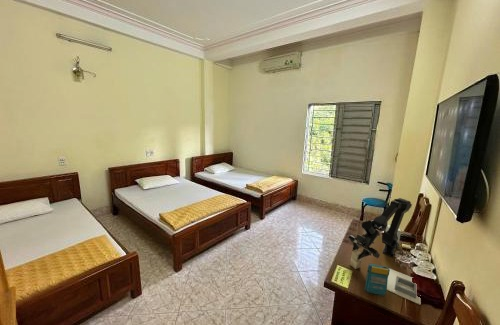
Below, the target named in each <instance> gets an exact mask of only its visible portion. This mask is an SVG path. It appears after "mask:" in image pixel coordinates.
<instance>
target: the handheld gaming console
mask: <svg viewBox="0 0 500 325" xmlns="http://www.w3.org/2000/svg"><path fill="white" fill-rule="evenodd" d="M390 269H391V268H389V267H387V266H384V265H379V264H375V263H374V264H372V263H369V264H368V266H367V270H366V271H367V273H366V277H365V278H366V279H365V284H364V290H365V291H366V292H367V293H369V294H374V295H379V296H383V297H384V296H385V295H386V293H387V291H388V290H387V281H388V275H389V271H390Z"/></svg>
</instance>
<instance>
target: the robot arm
mask: <svg viewBox="0 0 500 325" xmlns="http://www.w3.org/2000/svg"><path fill="white" fill-rule="evenodd" d="M411 208H412V203H411V201H410V200H407V199H405V198H401V197H399V198H393V200H391V201H390V204H388V206H387V207H386V209H384V211H383V212H382V213H381V214H380V215H378V216H375V217H374V219H372V220H371V219H369V220H366V221H363V222H362V223H361V227H362V229H363V230H364V232H365V233H364V234H363V233H362V235H361V234H358V233H357V234H356V236H354V235H352V234H350V235H348V236H347V238H348V240H349V241H350V242H352V244H353V247H352V250H351V252H352V251H353V250H356V249H357V250H359V249H360V247H362V248H363V249H362V253H361V254H360V255H359V257H358V259H361V260H362V259H363V258H366V257H368V256H373V257H374V258H376V259H379V258H380V253H379V251H378V250H376V249H375V248H373V246H372V247H371V245H372V244H374V243H375V242H374V241H375V240H376V239H377V237H380V236H381V235H380V232H383V235H382V236H381V243H383V244H384V248H383V251H382V254H384V255H387V256H389V257H393V258H395V250H399V248H400V242H399V243H398V242H397V241H398V236H397V232H398V229H400V225H401V223H402V221H403V219H404V215H405V214H406V213H407V212H409V211H410V209H411ZM391 218H392V220H391V222H390V224H389V223H388V222H389V221H390V219H391ZM388 225H390V227H389V230H388V231H387V232H386V227H387V226H388Z"/></svg>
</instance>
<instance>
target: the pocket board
mask: <svg viewBox="0 0 500 325" xmlns="http://www.w3.org/2000/svg"><path fill="white" fill-rule="evenodd" d="M389 269H390V271H389V275H388V281H387V290H386V291H389V292H390V293H394V295H395V294H396V296H400V297H401V298H404V299H406V300H409V301H411V302H413V303H415V304H418V305H421V303H422V302H421V301H422V300H421V298H420V297H418V296H417V284H416V283H413V282H412V278H413V277H412V276H409V275H407V274H404V273H402V272H400V271H396V270H395V269H393V268H389ZM413 287H414V288H413Z"/></svg>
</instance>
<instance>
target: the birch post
mask: <svg viewBox="0 0 500 325" xmlns="http://www.w3.org/2000/svg"><path fill="white" fill-rule="evenodd" d="M352 250H353V249H352ZM352 250H351V257H350V263H349V266H351V267H353V269H354V270H357V269H360V268H361V263H362V258H361V259H358V257H359V255H360V254H361V253H362V252H363V251H362V252H361V250H359V249H358V250H357V249H356V250H353V251H352Z"/></svg>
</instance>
